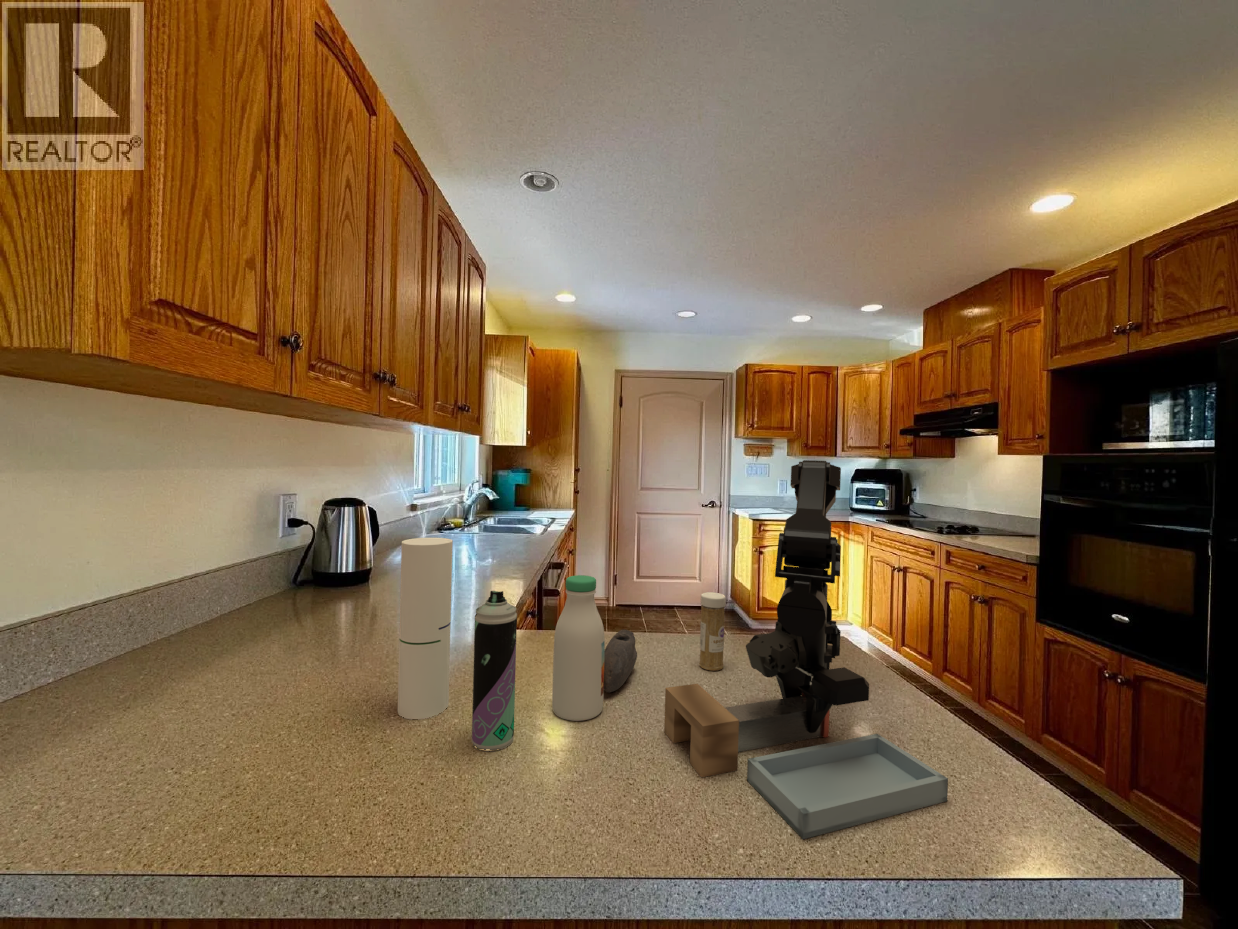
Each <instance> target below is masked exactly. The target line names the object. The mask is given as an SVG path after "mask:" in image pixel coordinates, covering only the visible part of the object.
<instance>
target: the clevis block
mask: <svg viewBox="0 0 1238 929" xmlns="http://www.w3.org/2000/svg"><path fill="white" fill-rule="evenodd" d="M664 694H665V699H664V726H663V728H664V729H663V730H664V731H663V732H664V733H665V734H666V736H667V737H668V738H669V740H670V741H671V742H672V744H677V743H682V742H683V743H684V742H687V741H690V747H689V748H690V749H689V750H690V752H689V753H690V754H689V755H690V756H689V764H690V765H691V766H692V768H693V769H694V770H695V771H696V773H697V774H698V775H699V776H700V777H701V778H705V777H710V776H715V775H722V774H725V773H726V774H727V773H730V772H736V771H738V768H739V767H738V766H739V765H738V764H739V762H738V760H739V752H738V735H739V720H738V719H737V718H736V717H735V716H733V715H732V714H731V713H730V712H729V711H728V710H727V709H726V708H724V707H725V706H723V705H722V704H721V703H720V702H719V701H718V700H717V699H715V698H714V697H713V696H712V695H711V694H710V693H709V692H708V691H707V690H705V689H704V688H703V687H702V686H701V685H700V684H698V683H693V684H683V685H676V686H669V687H665V693H664Z"/></svg>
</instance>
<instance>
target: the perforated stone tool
mask: <svg viewBox="0 0 1238 929" xmlns="http://www.w3.org/2000/svg"><path fill="white" fill-rule="evenodd" d="M637 658H638V652H637V649H636V638H635V635H634V632H633V631H631V630H628V629H620V630H619V631H618V632H616V633H615V634H614V635H613V636H612V637H611V639H609V642H608V643H607V645H606V647H605V652H604V691H605V693H612V692H616V691H617V690H619V689H620V688H621V687H622V686H623V685H624V683H625V682H626V681H627V679H628V678H629V677H630V675H631V673H632V671H633V670H634V668H635V665H636V662H637Z"/></svg>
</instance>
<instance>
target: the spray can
mask: <svg viewBox="0 0 1238 929" xmlns="http://www.w3.org/2000/svg"><path fill="white" fill-rule="evenodd" d="M489 593H490V594H489V597H488V599H486V600H485V603H484V604H482V605H480V606H478V607H477V608H476V609H475V613H476V614H475V615H474V634H473V636H474V637H473V671H472V673H473V674H472V677H473V678H472V679H473V680H472V710H471V711H472V714H471V715H472V717H471V744H472V743H473V745H474V746H476V747H477V748H479V749H484V750H486V749H490V750H497V749H501V750H504V749H506V748H507V746H508V747H509V746H510V745H511V744H512V743H513V742H514V738H515V737H514V736H515V707H516V705H515V702H516V701H515V699H516V666H517V664H516V662H517V629H518V628H517V627H518V626H517V624H518V621H517V620H518V613H517V607H516V606H515V605H512V604H511V603H509V602H508V600H507V599H506V597H505V596H504V591H503V590H502V591H496V590H490V592H489ZM473 745H472V746H473ZM503 748H504V749H503Z"/></svg>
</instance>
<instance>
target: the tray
mask: <svg viewBox="0 0 1238 929" xmlns="http://www.w3.org/2000/svg"><path fill="white" fill-rule="evenodd" d="M746 774H747V776H746V781H747V782H748V784H750V785H751V786H752V787H753V788H754V789H755V790H756V792H757V793H759V795H760V796H761V797H762V798H763V799H764V800H765V801H766V802H767V803H768V804H769V806H771V808H773V809H774V811H775V812H776V813H777V814H778V815H779V816H780V817H781V818H782V819H783V821H785V822H786V823H787V824H788V825H789V826H790V827H791V829H793V831H794V832H795V833H796V834H797V835H798V836H799V837H800V838H801V839H802V840H807V839H810V838H814V837H817V836H822V835H825V834H829V833H832V832H836V831H840V830H843V829H847V828H850V827H855V826H858V825H859V826H860V825H862V824H866V823H869V822H874V821H878V820H881V819H885V818H888V817H893V816H896V815H901V814H904V813H907V812H911V811H916V810H918V809H922V808H926V807H930V806H934V805H938V804H941V803H945V802H946V803H947V802H948V792H949V791H948V789H949V788H948V787H949V778H948V777H947V776H945V775H943V774H942V773H940V772H939V771H937V770H935V769H934V768H933V767H930V766H929V765H928V764H926V763H924V762H923V761H921V760H920V759H918V758H917V757H915V756H913V755H912V754H911V753H909V752H907V751H906V750H904V749H902V748H901V747H899V746H898V745H897V744H894V742H891V741H890V740H888V739H886V738H885V737H883V736H882V735H880V734H879V733H873V734H869V735H865V736H859V737H853V738H847V739H842V740H837V741H833V742H828V743H822V744H816V745H812V746H808V747H806V746H805V747H801V748H796V749H792V750H786V751H781V752H777V753H776V752H775V753H771V754H765V755H760V756H756V757H755V756H754V757H750V758H747V771H746Z"/></svg>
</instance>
